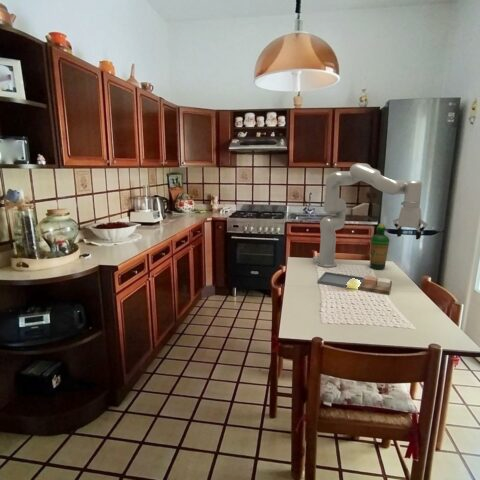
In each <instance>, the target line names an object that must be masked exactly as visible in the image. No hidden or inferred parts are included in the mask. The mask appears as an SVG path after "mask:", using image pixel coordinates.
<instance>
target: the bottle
mask: <svg viewBox="0 0 480 480" xmlns="http://www.w3.org/2000/svg"><path fill="white" fill-rule="evenodd" d="M375 230H376V234H374V235H372V236H371V238H370V253H369V254H370V258H369V259H370V260H369V267H370V268H371V269H372V268H373V269H372V270H377V271H382V270H384V269H385V268H386V263H387V262H386V261H387V256H388V252H389V246H390V238H389V237H388V236H387V235H386V234H385V232H386V231H387V229H386V225H385V223H378V225H377V227H376V229H375Z"/></svg>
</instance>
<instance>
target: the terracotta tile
mask: <svg viewBox="0 0 480 480" xmlns="http://www.w3.org/2000/svg"><path fill="white" fill-rule="evenodd" d="M364 277H365V278H364V284H370V285H376V283H377V279H378V277H376V276H370V275H365V276H364Z"/></svg>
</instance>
